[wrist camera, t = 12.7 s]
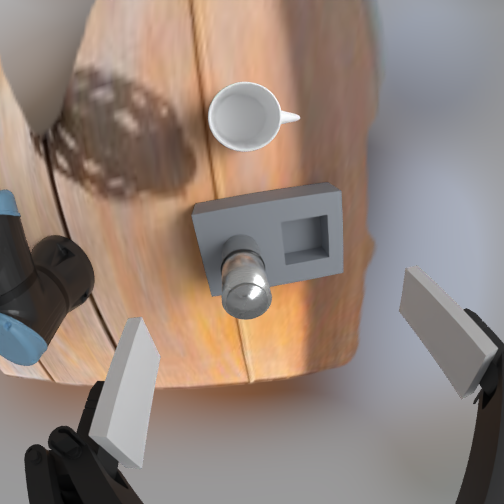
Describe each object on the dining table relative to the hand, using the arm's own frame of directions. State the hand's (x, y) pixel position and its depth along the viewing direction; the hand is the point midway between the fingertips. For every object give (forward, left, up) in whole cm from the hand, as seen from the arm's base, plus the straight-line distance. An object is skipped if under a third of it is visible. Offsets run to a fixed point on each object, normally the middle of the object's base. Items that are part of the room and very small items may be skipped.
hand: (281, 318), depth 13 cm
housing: (+3, -10, -35) cm, 36 cm away
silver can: (-2, -10, -29) cm, 30 cm away
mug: (+3, +9, -35) cm, 36 cm away
